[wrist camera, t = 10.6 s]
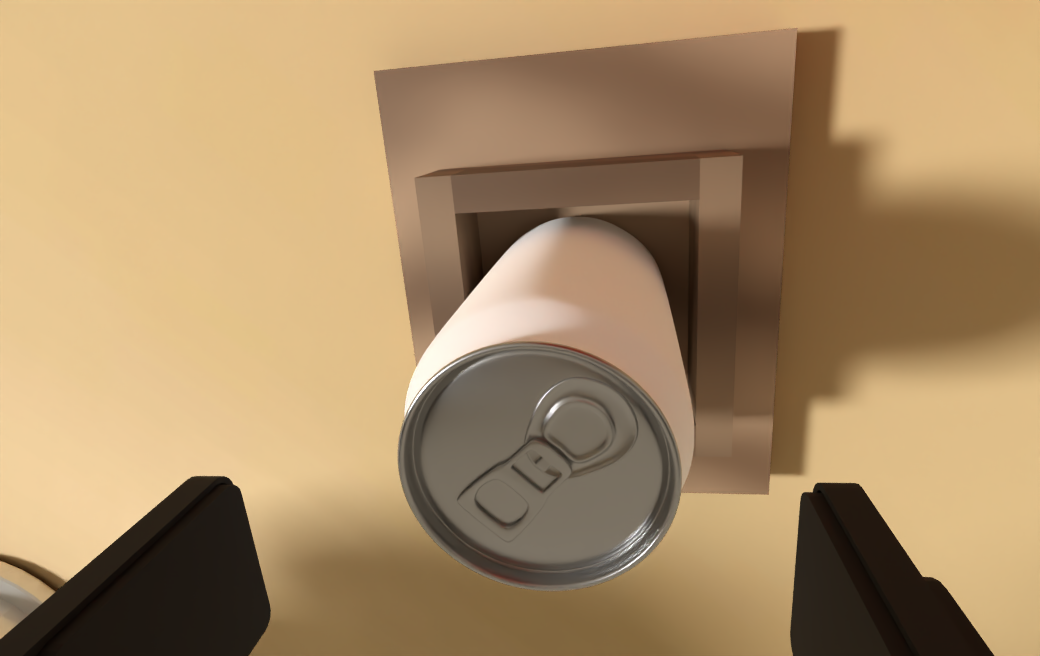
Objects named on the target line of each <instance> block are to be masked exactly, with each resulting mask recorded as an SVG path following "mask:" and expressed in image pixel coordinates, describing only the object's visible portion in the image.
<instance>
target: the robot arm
mask: <svg viewBox="0 0 1040 656" xmlns="http://www.w3.org/2000/svg"><path fill="white" fill-rule="evenodd" d="M270 612H271V610H270V604H269V600H268V596H267V592H266V588H265V584H264V580H263V576H262V572H261V568H260V564H259V561H258V557H257V553H256V549H255V545H254V541H253V537H252V533H251V529H250V525H249V521H248V517H247V513H246V509H245V506H244V502H243V498H242V494H241V491H240V489H239V488H238V487H237V486H235V485H233V483H232V481H231V480H230V479H229V478H227V477H225V476H195V477H191V478H190V479H188V480H186V481H185V482H184V483H183V484H182V485H181V486H179V487H178V488H177V489H176V490H175V491H174V492H172V493H171V494H170V495H169V496H168V497H167V498H165V499H164V500H163V501H162V502H161V503H159V504H158V505H157V506H156V507H155V508H154V509H152V510H151V511H150V512H149V513H148V514H147V515H145V516H144V517H143V518H142V519H141V520H139V521H138V522H137V523H136V524H135V525H134V526H132V527H131V528H130V529H129V530H128V531H127V532H125V533H124V534H123V535H122V536H121V537H120V538H118V539H117V540H116V541H115V542H114V543H112V544H111V545H110V546H109V547H108V548H107V549H105V550H104V551H103V552H102V553H101V554H100V555H98V556H97V557H96V558H95V559H94V560H92V561H91V562H90V563H89V564H88V565H87V566H85V567H84V568H83V569H82V570H81V571H80V572H78V573H77V574H76V575H75V576H74V577H73V578H71V579H70V580H69V581H68V582H67V583H65V584H64V585H63V586H62V587H61V588H60V589H58V590H57V591H54V590H53V589H52V588H50V587H49V586H48V585H46V584H45V583H44V582H42V581H41V580H39V579H38V578H36V577H34V576H32V575H31V574H29V573H27V572H26V571H24V570H22V569H20V568H17V567H15V566H12V565H10V564H8V563H5V562H2V561H0V656H249V654H250V653H251V651H252V650H253V648H254V647H255V645H256V644H257V642H258V641H259V639H260V638H261V636H262V635H263V633H264V632H265V630H266V628H267V626H268V623H269V620H270ZM790 637H791V647H792V652H793V656H994V655H993V653H992V652H991V650H990V649H989V648H988V646H987V645H986V643H985V642H984V641H983V639H982V638H981V636H980V635H979V634H978V632H977V631H976V629H975V628H974V627H973V625H972V624H971V622H970V621H969V620H968V618H967V617H966V615H965V614H964V613H963V611H962V610H961V608H960V607H959V606H958V604H957V603H956V601H955V600H954V599H953V597H952V596H951V594H950V593H949V592H948V590H947V589H946V588H945V587H944V586H943V585H942V583H941V582H940V581H938V580H936V579H934V578H932V577H922V575H921V574H920V572H919V571H918V569H917V568H916V567H915V565H914V564H913V562H912V561H911V559H910V558H909V556H908V555H907V553H906V552H905V550H904V549H903V547H902V546H901V544H900V543H899V541H898V540H897V539H896V537H895V536H894V534H893V533H892V531H891V530H890V528H889V527H888V525H887V524H886V522H885V521H884V519H883V518H882V516H881V515H880V514H879V512H878V511H877V509H876V508H875V506H874V505H873V503H872V502H871V500H870V499H869V497H868V496H867V494H866V493H865V491H864V490H863V488H862V487H861V486H860V485H859V484H856V483H817V484H816V485H815V487H814V489H813V493H812V492H804V493H803V494H802V496H801V501H800V513H799V526H798V539H797V552H796V565H795V578H794V591H793V604H792V617H791V630H790Z"/></svg>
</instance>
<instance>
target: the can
mask: <svg viewBox="0 0 1040 656" xmlns="http://www.w3.org/2000/svg"><path fill="white" fill-rule="evenodd" d="M693 451H694V418H693V410H692V404H691V398H690V393H689V389H688V384H687V379H686V374H685V370H684V366H683V361H682V357H681V352H680V348H679V344H678V339H677V335H676V331H675V326H674V322H673V318H672V314H671V310H670V306H669V301H668V297H667V293H666V289H665V286H664V282H663V279H662V276H661V273H660V270H659V268H658V265H657V263H656V261H655V260H654V258H653V256H652V255H651V253H650V252H649V251H648V250H647V248H646V247H645V246H644V245H643V244H642V243H641V242H639V241H638V240H637V239H636V238H635V237H633V236H632V235H631V234H629V233H628V232H626V231H624V230H623V229H621V228H619V227H617V226H615V225H613V224H611V223H609V222H606V221H603V220H600V219H595V218H590V217H565V218H559V219H555V220H551V221H548V222H545V223H543V224H541V225H539V226H537V227H535V228H533V229H531V230H530V231H528V232H527V233H525V234H524V235H523V236H521V237H520V238H519V239H518V240H517V241H516V242H515V243H514V244H513V245H512V246H511V247H510V248H509V249H508V250H507V251H506V252H505V253H504V255H503V256H502V257H501V258H500V259H499V260H498V262H497V263H496V264H495V265H494V266H493V267H492V269H491V270H490V271H489V272H488V273H487V275H486V276H485V277H484V278H483V279H482V281H481V282H480V283H479V284H478V285H477V287H476V288H475V289H474V290H473V291H472V293H471V294H470V295H469V296H468V297H467V299H466V300H465V301H464V302H463V303H462V305H461V306H460V307H459V308H458V310H457V311H456V312H455V313H454V314H453V316H452V317H451V318H450V319H449V321H448V322H447V323H446V324H445V326H444V327H443V328H442V329H441V331H440V332H439V333H438V334H437V336H436V337H435V338H434V340H433V341H432V343H431V344H430V345H429V347H428V348H427V350H426V351H425V353H424V354H423V356H422V358H421V359H420V361H419V363H418V365H417V367H416V369H415V371H414V374H413V376H412V379H411V381H410V385H409V388H408V392H407V396H406V402H405V412H404V420H403V423H402V427H401V431H400V436H399V442H398V469H399V475H400V480H401V484H402V488H403V491H404V494H405V497H406V499H407V501H408V504H409V506H410V508H411V510H412V512H413V513H414V515H415V517H416V519H417V520H418V522H419V523H420V525H421V526H422V527H423V529H424V530H425V531H426V532H427V534H428V535H429V536H430V537H431V538H432V539H433V540H434V542H435V543H436V544H437V545H438V546H439V547H441V548H442V549H443V550H444V551H445V552H446V553H447V554H449V555H450V556H451V557H452V558H454V559H455V560H457V561H458V562H459V563H461V564H462V565H464V566H466V567H467V568H469V569H471V570H472V571H474V572H476V573H478V574H480V575H482V576H485V577H487V578H489V579H492V580H494V581H497V582H500V583H503V584H506V585H510V586H514V587H518V588H523V589H529V590H538V591H567V590H575V589H581V588H586V587H590V586H594V585H598V584H601V583H604V582H606V581H609V580H611V579H614V578H616V577H618V576H620V575H622V574H623V573H625V572H627V571H629V570H630V569H632V568H633V567H635V566H636V565H637V564H639V563H640V562H641V561H642V560H644V559H645V558H646V557H647V556H648V555H649V554H650V553H651V552H652V551H653V550H654V549H655V548H656V547H657V545H658V544H659V543H660V542H661V540H662V539H663V537H664V536H665V534H666V533H667V531H668V529H669V527H670V526H671V524H672V521H673V519H674V517H675V514H676V511H677V508H678V505H679V500H680V495H681V490H682V488H683V485H684V483H685V481H686V478H687V476H688V473H689V470H690V466H691V462H692V457H693Z"/></svg>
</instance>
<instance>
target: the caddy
mask: <svg viewBox="0 0 1040 656" xmlns="http://www.w3.org/2000/svg"><path fill="white" fill-rule="evenodd" d="M796 41H797V28H792V29H783V30H773V31H763V32H753V33H743V34H733V35H724V36H714V37H704V38H694V39H684V40H675V41H665V42H655V43H645V44H635V45H625V46H616V47H606V48H596V49H586V50H576V51H566V52H557V53H547V54H537V55H527V56H517V57H508V58H498V59H488V60H478V61H468V62H458V63H449V64H439V65H429V66H419V67H409V68H399V69H390V70H380V71H374V76H375V83H376V90H377V97H378V104H379V111H380V117H381V124H382V131H383V138H384V145H385V152H386V159H387V166H388V173H389V180H390V187H391V193H392V200H393V207H394V214H395V221H396V228H397V235H398V242H399V249H400V256H401V263H402V269H403V276H404V283H405V290H406V297H407V304H408V311H409V318H410V325H411V332H412V339H413V345H414V352H415V359H416V366H417V365H418V363H419V361H420V359H421V358H422V356H423V354H424V353H425V351H426V350H427V348H428V347H429V345H430V344H431V343H432V341H433V340H434V338H435V337H436V336H437V334H438V333H439V332H440V331H441V329H442V328H443V327H444V326H445V324H446V323H447V322H448V321H449V319H450V318H451V317H452V316H453V314H454V313H455V312H456V311H457V310H458V308H459V307H460V306H461V305H462V303H463V302H464V301H465V300H466V299H467V297H468V296H469V295H470V294H471V293H472V291H473V290H474V289H475V288H476V287H477V285H478V284H479V283H480V282H481V281H482V279H483V278H484V277H485V276H486V275H487V273H488V272H489V271H490V270H491V269H492V267H493V266H494V265H495V264H496V263H497V262H498V260H499V259H500V258H501V257H502V256H503V255H504V253H505V252H506V251H507V250H508V249H509V248H510V247H511V246H512V245H513V244H514V243H515V242H516V241H517V240H518V239H519V238H520V237H521V236H523V235H524V234H525V233H527V232H528V231H530V230H531V229H533V228H535V227H537V226H539V225H541V224H543V223H545V222H548V221H551V220H555V219H559V218H565V217H590V218H595V219H600V220H603V221H606V222H609V223H611V224H613V225H615V226H617V227H619V228H621V229H623V230H624V231H626V232H628V233H629V234H631V235H632V236H633V237H635V238H636V239H637V240H638V241H639V242H641V243H642V244H643V245H644V246H645V247H646V248H647V250H648V251H649V252H650V253H651V255H652V256H653V258H654V260H655V261H656V263H657V265H658V268H659V270H660V273H661V276H662V279H663V282H664V286H665V289H666V293H667V297H668V301H669V306H670V310H671V314H672V318H673V322H674V326H675V331H676V335H677V339H678V344H679V348H680V352H681V357H682V361H683V366H684V370H685V374H686V379H687V384H688V389H689V393H690V398H691V404H692V410H693V418H694V451H693V457H692V462H691V466H690V470H689V473H688V476H687V478H686V481H685V483H684V485H683V488H682V490H681V493H723V494H764V495H769V480H770V464H771V447H772V431H773V415H774V399H775V382H776V366H777V350H778V334H779V317H780V301H781V285H782V269H783V252H784V236H785V220H786V203H787V187H788V171H789V155H790V138H791V122H792V106H793V90H794V73H795V57H796Z"/></svg>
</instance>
